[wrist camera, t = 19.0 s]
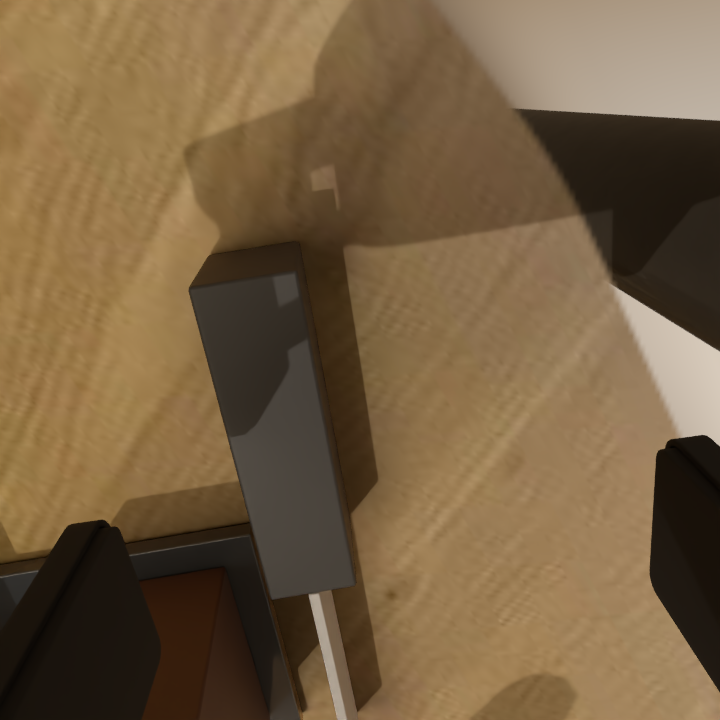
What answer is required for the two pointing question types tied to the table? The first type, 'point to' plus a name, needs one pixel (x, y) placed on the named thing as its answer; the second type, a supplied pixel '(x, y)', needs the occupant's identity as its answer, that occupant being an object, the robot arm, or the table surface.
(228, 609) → the cake
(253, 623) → the board
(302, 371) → the knife
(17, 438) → the table surface
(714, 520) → the robot arm
